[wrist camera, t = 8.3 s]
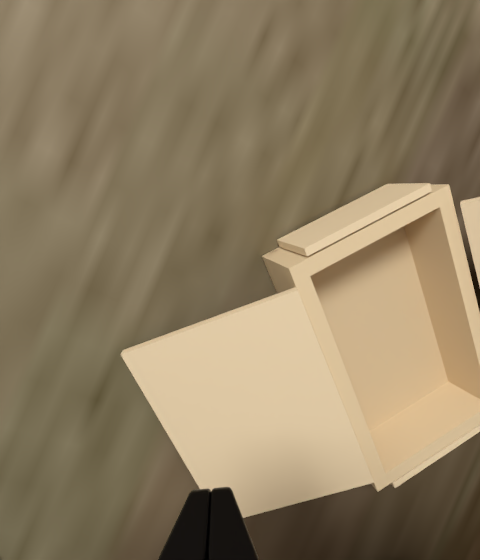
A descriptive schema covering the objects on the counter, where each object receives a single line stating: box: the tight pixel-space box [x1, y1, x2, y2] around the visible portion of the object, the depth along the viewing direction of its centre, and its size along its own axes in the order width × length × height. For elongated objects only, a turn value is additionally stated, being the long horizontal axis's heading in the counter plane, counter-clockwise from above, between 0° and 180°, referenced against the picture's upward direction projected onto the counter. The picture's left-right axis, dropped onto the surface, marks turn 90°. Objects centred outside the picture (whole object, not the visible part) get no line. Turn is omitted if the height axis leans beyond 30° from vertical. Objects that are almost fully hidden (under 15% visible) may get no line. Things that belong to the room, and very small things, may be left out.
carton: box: [121, 183, 480, 518], centre depth 22 cm, size 18×15×4 cm
